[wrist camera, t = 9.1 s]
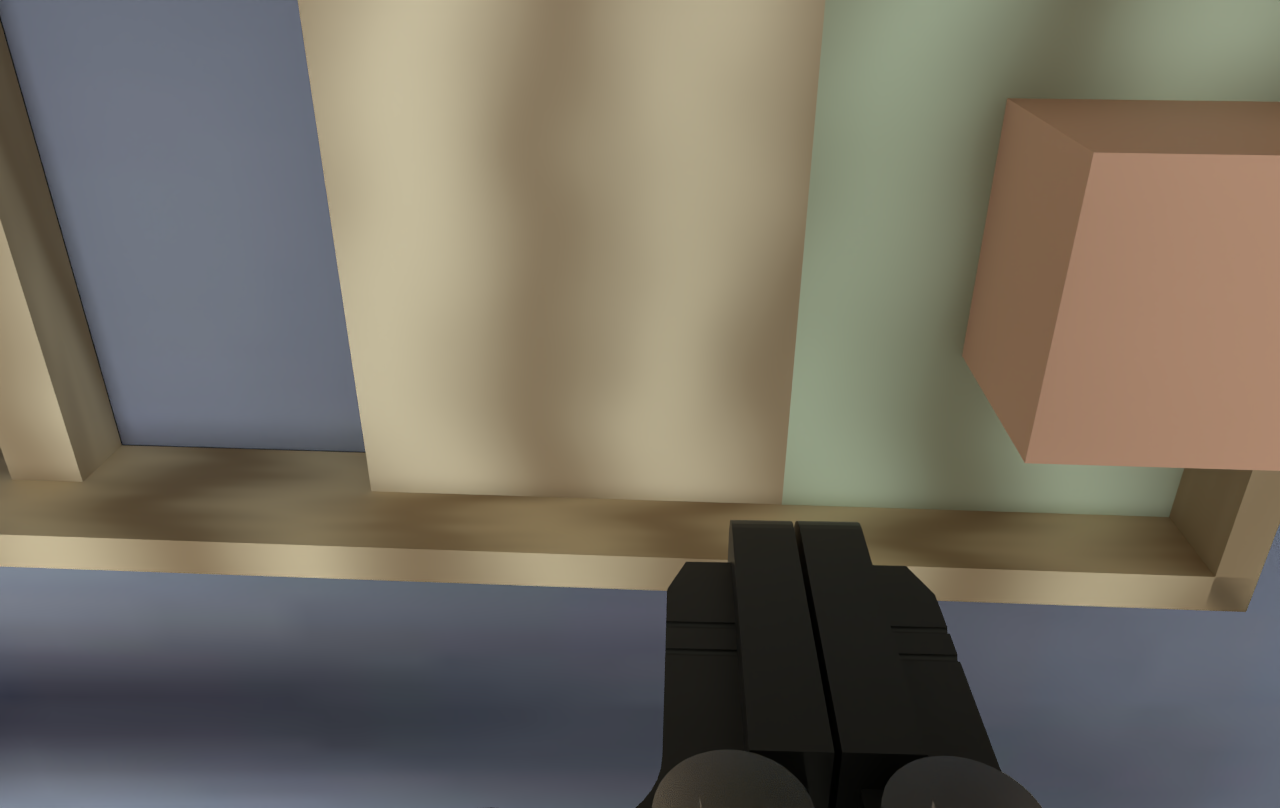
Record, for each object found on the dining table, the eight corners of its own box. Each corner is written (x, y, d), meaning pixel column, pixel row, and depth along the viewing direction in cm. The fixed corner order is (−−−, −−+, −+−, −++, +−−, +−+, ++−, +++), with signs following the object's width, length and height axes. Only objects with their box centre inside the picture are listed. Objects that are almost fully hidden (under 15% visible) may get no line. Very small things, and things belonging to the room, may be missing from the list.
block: (1299, 102, 20) (1469, 158, 16) (1217, 362, 23) (1343, 472, 18) (1007, 98, 20) (1094, 152, 16) (962, 355, 23) (1024, 463, 19)
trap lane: (1366, -146, 20) (1537, -158, 16) (1165, 507, 27) (1246, 612, 23) (-480, -149, 21) (-749, -161, 17) (-194, 464, 29) (-336, 553, 25)
